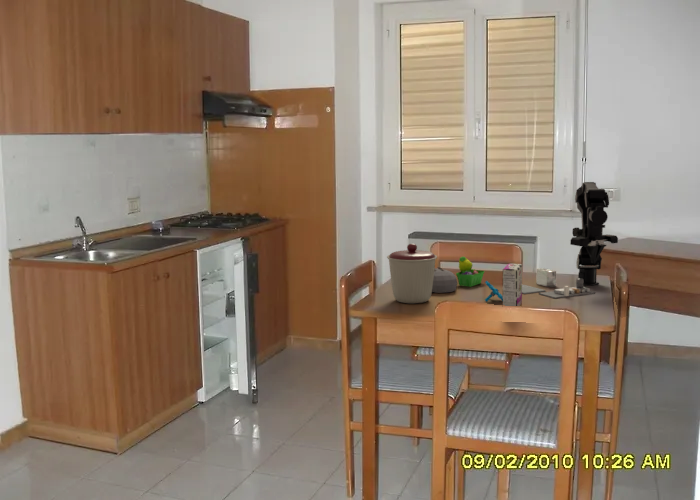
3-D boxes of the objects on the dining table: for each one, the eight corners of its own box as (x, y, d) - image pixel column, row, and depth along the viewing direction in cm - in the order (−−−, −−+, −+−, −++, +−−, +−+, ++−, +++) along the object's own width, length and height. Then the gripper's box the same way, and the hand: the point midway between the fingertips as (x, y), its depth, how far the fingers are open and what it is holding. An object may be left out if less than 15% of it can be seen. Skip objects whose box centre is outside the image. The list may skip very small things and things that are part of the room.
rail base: (578, 289, 281) (578, 279, 280) (595, 293, 273) (596, 283, 272) (538, 294, 273) (539, 283, 272) (555, 298, 265) (555, 287, 264)
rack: (580, 289, 278) (581, 278, 278) (590, 291, 273) (591, 280, 273) (554, 292, 273) (554, 281, 272) (563, 295, 268) (563, 283, 267)
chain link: (542, 282, 296) (542, 268, 295) (557, 286, 288) (558, 271, 287) (534, 283, 295) (534, 268, 294) (549, 287, 286) (550, 272, 285)
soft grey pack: (412, 285, 295) (426, 295, 275) (412, 265, 293) (426, 273, 274) (448, 283, 297) (464, 293, 278) (448, 263, 296) (464, 271, 277)
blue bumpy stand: (507, 300, 255) (487, 279, 257) (494, 312, 256) (474, 291, 258) (507, 298, 266) (488, 278, 268) (496, 309, 267) (476, 289, 269)
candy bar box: (507, 310, 247) (507, 263, 244) (522, 311, 245) (523, 263, 243) (501, 318, 236) (502, 268, 234) (516, 319, 235) (517, 269, 232)
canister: (397, 307, 254) (397, 248, 251) (380, 297, 271) (380, 241, 268) (445, 304, 259) (445, 245, 256) (425, 294, 276) (425, 239, 273)
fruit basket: (472, 287, 288) (472, 259, 286) (452, 285, 293) (452, 257, 291) (485, 283, 297) (485, 256, 295) (465, 281, 302) (466, 254, 300)
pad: (523, 285, 290) (523, 284, 290) (545, 291, 278) (545, 290, 278) (503, 288, 286) (503, 286, 286) (524, 294, 274) (524, 292, 274)
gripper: (598, 218, 286) (597, 258, 288) (561, 221, 278) (559, 261, 281) (619, 221, 276) (618, 261, 278) (581, 224, 268) (580, 265, 271)
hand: (593, 262), depth 277 cm, fingers closed
